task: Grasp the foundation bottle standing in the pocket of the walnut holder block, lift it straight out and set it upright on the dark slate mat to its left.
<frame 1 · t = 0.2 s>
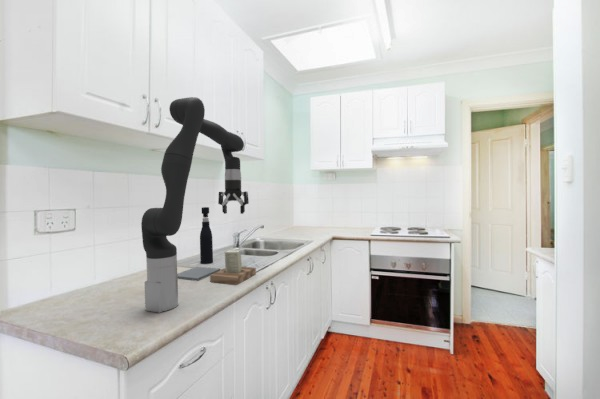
hand: (233, 213, 138), 28 cm above the countertop, tool pointing down, fingers open, 8 cm apart
holder: (234, 277, 129), on the countertop
mat: (197, 274, 136), on the countertop
wine bottle: (206, 262, 158), on the countertop
skincare box: (233, 278, 129), resting in holder
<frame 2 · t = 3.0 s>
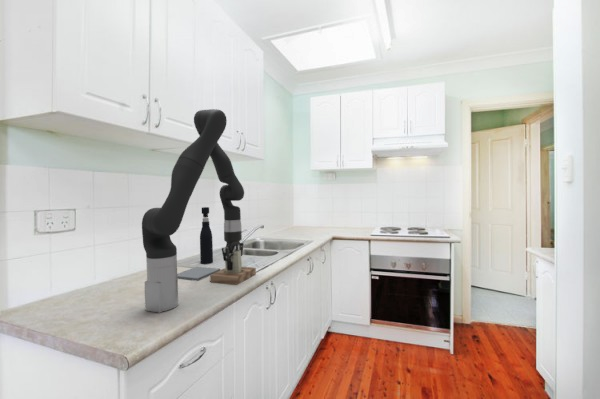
hand: (233, 268, 129), 4 cm above the countertop, tool pointing down, fingers closed on skincare box, 5 cm apart
skincare box: (233, 278, 129), resting in holder, touching gripper
everything else where it was.
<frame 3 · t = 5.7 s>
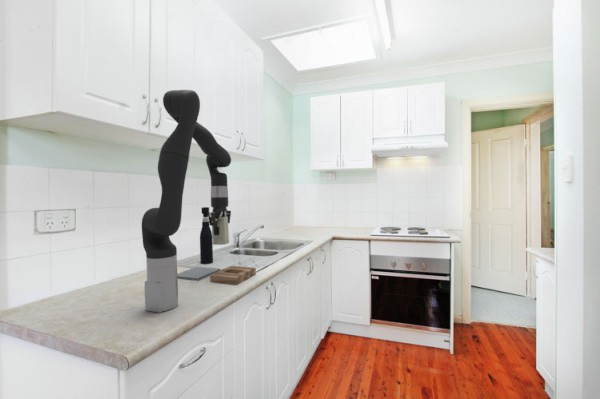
hand: (220, 234, 131), 19 cm above the countertop, tool pointing down, fingers closed on skincare box, 5 cm apart
skincare box: (220, 244, 131), point 15 cm above the countertop, touching gripper
everything else where it was.
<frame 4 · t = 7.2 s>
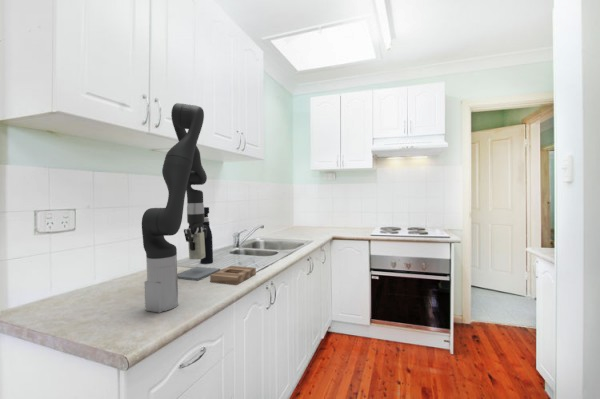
hand: (196, 249, 136), 12 cm above the countertop, tool pointing down, fingers closed on skincare box, 5 cm apart
skincare box: (197, 258, 136), point 7 cm above the countertop, touching gripper
everything else where it was.
when the fingers open (6 cm above the countertop, at t = 8.6 s): skincare box stays where it is, resting on mat.
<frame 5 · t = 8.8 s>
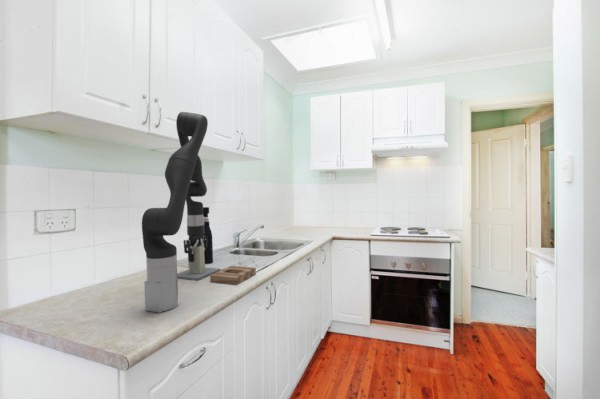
hand: (196, 260, 136), 7 cm above the countertop, tool pointing down, fingers open, 6 cm apart
skincare box: (196, 272, 136), point 1 cm above the countertop, touching mat
everything else where it was.
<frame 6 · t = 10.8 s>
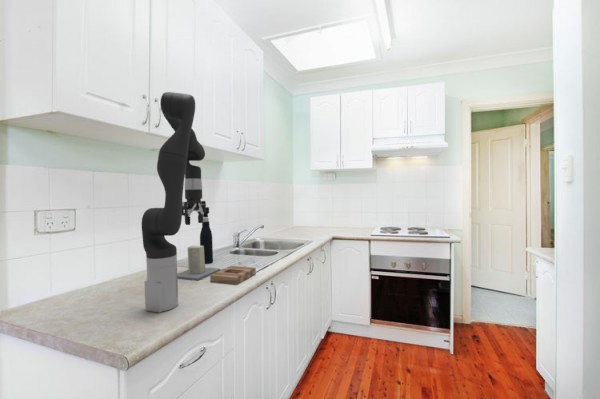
hand: (194, 223, 135), 24 cm above the countertop, tool pointing down, fingers open, 8 cm apart
nothing on the countertop moved.
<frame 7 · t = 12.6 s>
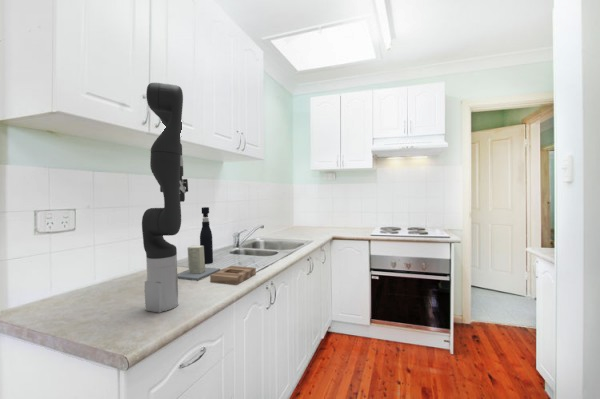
hand: (175, 201, 130), 34 cm above the countertop, tool pointing down, fingers open, 8 cm apart
nothing on the countertop moved.
at the end: skincare box inside the target area on the mat (0.2 cm from its centre), point 0.8 cm above the mat's base; skincare box tilted 0°; the gripper is holding nothing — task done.
